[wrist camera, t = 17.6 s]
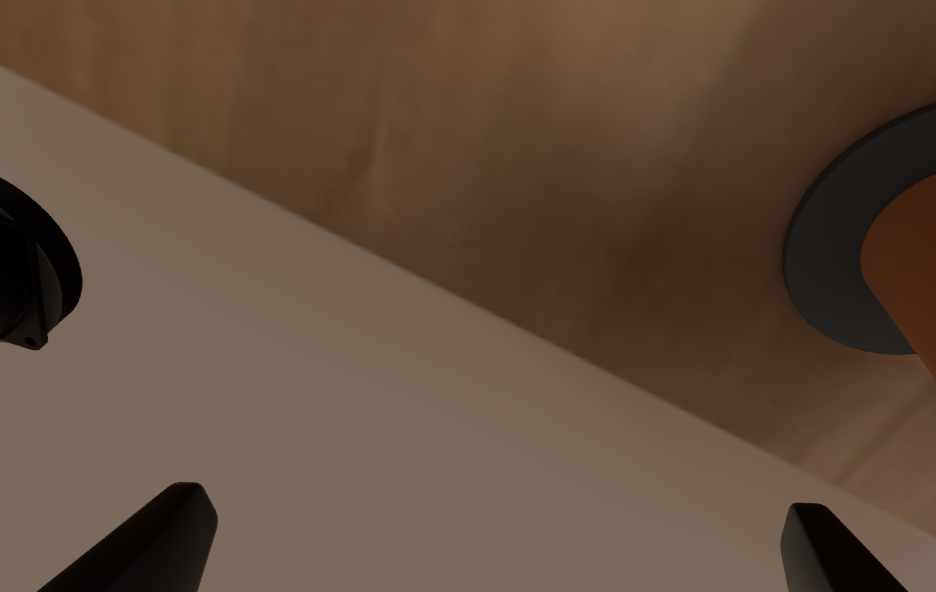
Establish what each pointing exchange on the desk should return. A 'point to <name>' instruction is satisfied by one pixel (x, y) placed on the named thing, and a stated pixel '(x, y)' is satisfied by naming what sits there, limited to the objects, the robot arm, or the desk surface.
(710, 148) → the desk surface
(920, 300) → the tea tin
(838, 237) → the coaster
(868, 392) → the desk surface
